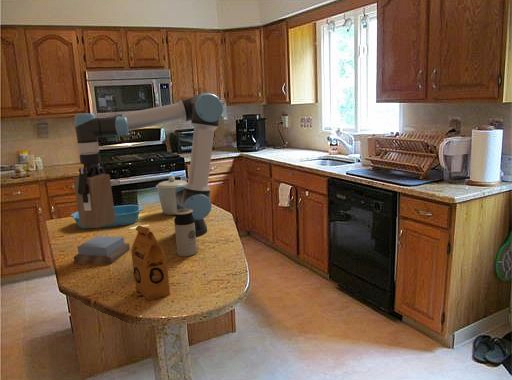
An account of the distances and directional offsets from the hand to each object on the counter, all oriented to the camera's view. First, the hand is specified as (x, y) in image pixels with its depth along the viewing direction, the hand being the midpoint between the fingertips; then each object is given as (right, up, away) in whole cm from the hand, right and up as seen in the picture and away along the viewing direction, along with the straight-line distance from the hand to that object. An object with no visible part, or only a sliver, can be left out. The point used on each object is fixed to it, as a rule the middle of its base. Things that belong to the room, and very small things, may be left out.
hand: (96, 206), depth 170 cm
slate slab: (+1, -18, +4) cm, 18 cm away
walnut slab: (+1, -21, +5) cm, 22 cm away
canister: (+19, -7, +69) cm, 72 cm away
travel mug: (+36, -20, +3) cm, 41 cm away
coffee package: (+31, -27, -32) cm, 52 cm away
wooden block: (0, -7, +2) cm, 8 cm away
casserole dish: (-14, -11, +56) cm, 59 cm away
